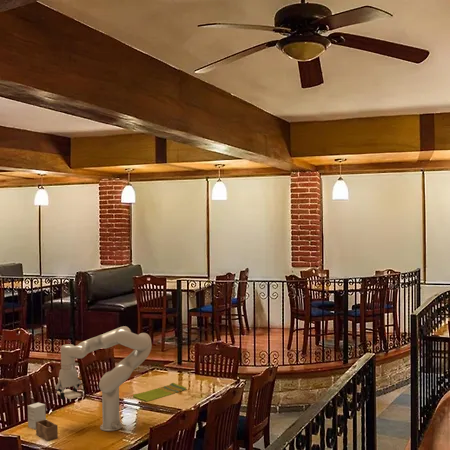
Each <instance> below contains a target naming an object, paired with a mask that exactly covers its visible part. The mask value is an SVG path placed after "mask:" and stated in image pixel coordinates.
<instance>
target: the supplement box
mask: <svg viewBox="0 0 450 450" xmlns="http://www.w3.org/2000/svg"><path fill="white" fill-rule="evenodd" d="M42 420H47V419H46V404H45V403H41V402H39V401H38V402H34V403H31V404H29V405H28V404H27V425H28V426H27V427H28V428H30V429H33V430H36V422H38V421H42Z"/></svg>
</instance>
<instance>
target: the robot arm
mask: <svg viewBox="0 0 450 450" xmlns="http://www.w3.org/2000/svg"><path fill="white" fill-rule="evenodd" d="M117 345H122V346H124V347H126V348H129V349H132V352H130V353H129V354H128V355H127V356H126V357H124V358H123V359H122V360H120V361H118V362H117V364H116V366H115V367H114V368H112V369H111V370H109V371H107V372H105V373H104V374H103V376H102V377H101V379H100V380H99V383H98V388H99V390H100V391H101V403H102V404H101V407H102V409H101V411H102V424H101V425H100V426H99V428H100V430H101V431H104V432H115V431H118V430H120V429H122V428H123V426H124V425H123V423H122V422H121V419H120V415H121V414H120V386H121V385H122V384H123V383H125V382H126V381H127V380H128V379H129V378H130V377H131V375H132V373H133V372H134V371H135V369H137V368H138V367H139V366H140V365H142V364H143V362H144V361H145V360H147V358H148V357H149V355H150V353H151V351H152V348H153V347H152V339H151V336H150V335H149V334H148V333H146V332H141V333H139V334H137V333H134V332H133V331H132V330H131V328H129V327H128V326H126V325H125V326H124V325H123V326H120V327H119V326H118V327H117V328H115V329H112V330H110V331H107V332H105V333H104V332H103V334H99V335H97V336H94V337H91V338H89V339H86V340H83V341H81V342H79V343H78V344H77V345H74V344H71V343H68V344H67V343H66V344H63V345H61V347H60V365H61V366H60V368H61V369H59V373H58V383H57V384H56V385H55V386H54V388H55V389H56V391H59V392H60V395H59V398H60V400H61V401H62V400H63V401H64V400H65V397H64V393H63V392H64V390H66V388H67V389H68V388H71V387H73V389H72V391H74V392H77V393H78V390H79V387H80V386H81V384H82V382H83V381H82V380H81V379H79V375H78V372H77V368H76V366H78V363H77V362H76V359H84V358H85V357H86V356H87V355H88V354H89V353H90V354H91V353H93V352H94V351H97V350H100V349H105V350H106V349H109V348H111V347H114V346H117Z"/></svg>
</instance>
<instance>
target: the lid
mask: <svg viewBox="0 0 450 450" xmlns="http://www.w3.org/2000/svg"><path fill="white" fill-rule="evenodd" d="M63 393H64V398H66V399H68V400H72V399H77V398H79V397H81V396H82V394H81V393H79V392H78V391H77V392H74V391H73V389H72V390H71V389H69V388H67V389H66V388H65V389H64V392H63ZM56 394H57V395H59V396H60V392H59V391H58V390H56Z"/></svg>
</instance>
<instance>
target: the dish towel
mask: <svg viewBox="0 0 450 450" xmlns="http://www.w3.org/2000/svg"><path fill="white" fill-rule="evenodd" d="M184 391H187V387H186V386H184V385H180V384H177V383H174V382H172V383H170V384H168V385H164V386H161V387H157V388H154V389H153V388H152V389H150V390H147V391H143V392H140V393H134V394H133V396H132V398H133V399H134V400H138V401H141V402H145V403H148V402H151V401H154V400H157V399H161V398H165V397H167V396H171V395H174V394H177V393H181V392H184Z"/></svg>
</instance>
